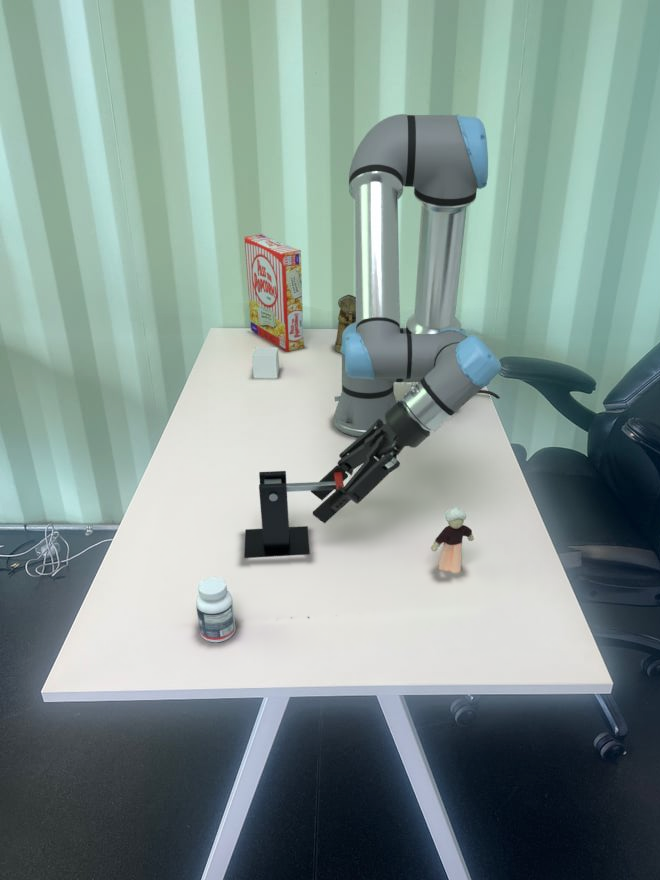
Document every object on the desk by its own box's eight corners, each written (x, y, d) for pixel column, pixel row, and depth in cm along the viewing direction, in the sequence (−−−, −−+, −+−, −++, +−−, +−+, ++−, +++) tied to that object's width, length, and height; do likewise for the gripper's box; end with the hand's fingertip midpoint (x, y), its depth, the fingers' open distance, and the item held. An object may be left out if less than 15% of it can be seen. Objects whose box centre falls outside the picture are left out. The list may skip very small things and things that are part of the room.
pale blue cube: (279, 369, 199) (278, 347, 196) (277, 378, 194) (275, 356, 191) (256, 369, 199) (254, 347, 196) (253, 378, 194) (252, 355, 191)
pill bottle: (202, 620, 116) (196, 574, 111) (237, 618, 116) (232, 572, 111) (198, 644, 111) (191, 597, 106) (234, 642, 112) (228, 595, 107)
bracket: (307, 531, 136) (305, 464, 129) (309, 559, 129) (307, 490, 122) (245, 534, 135) (239, 467, 127) (244, 563, 128) (237, 493, 120)
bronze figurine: (332, 360, 205) (331, 294, 196) (335, 342, 217) (334, 279, 207) (365, 361, 205) (365, 295, 196) (366, 343, 217) (367, 280, 207)
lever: (341, 481, 130) (341, 469, 129) (344, 501, 125) (344, 489, 124) (265, 484, 129) (264, 472, 127) (265, 505, 123) (264, 492, 122)
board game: (250, 331, 223) (243, 236, 208) (268, 327, 226) (263, 233, 212) (286, 352, 209) (281, 252, 195) (305, 348, 213) (302, 249, 198)
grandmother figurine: (441, 585, 124) (446, 521, 117) (426, 573, 127) (430, 510, 120) (476, 569, 128) (483, 506, 121) (461, 558, 130) (467, 495, 124)
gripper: (392, 377, 128) (299, 465, 135) (410, 428, 112) (303, 525, 119) (421, 405, 132) (329, 489, 138) (443, 458, 115) (337, 551, 122)
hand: (317, 506), depth 129 cm, fingers closed on lever, 7 cm apart
